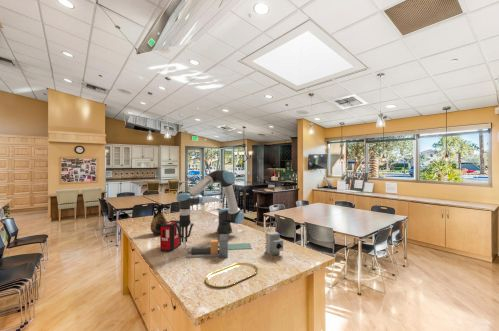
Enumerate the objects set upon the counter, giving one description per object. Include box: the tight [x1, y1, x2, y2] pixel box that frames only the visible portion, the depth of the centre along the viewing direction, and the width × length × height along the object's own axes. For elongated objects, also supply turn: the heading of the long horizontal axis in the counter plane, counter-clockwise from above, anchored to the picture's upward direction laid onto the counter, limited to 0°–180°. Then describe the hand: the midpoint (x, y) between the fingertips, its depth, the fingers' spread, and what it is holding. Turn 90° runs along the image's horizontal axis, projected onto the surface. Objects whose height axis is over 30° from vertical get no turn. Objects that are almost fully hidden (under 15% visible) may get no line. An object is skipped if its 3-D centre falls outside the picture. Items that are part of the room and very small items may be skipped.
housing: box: [185, 234, 229, 259], centre depth 170 cm, size 15×30×12 cm, turn 96°
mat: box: [228, 242, 253, 251], centre depth 186 cm, size 12×20×1 cm, turn 96°
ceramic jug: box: [149, 202, 168, 236], centre depth 219 cm, size 17×15×30 cm
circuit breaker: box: [264, 230, 284, 256], centre depth 171 cm, size 8×14×15 cm, turn 27°
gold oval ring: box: [205, 262, 259, 289], centre depth 138 cm, size 19×35×2 cm, turn 133°
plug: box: [190, 239, 219, 255], centre depth 170 cm, size 5×20×10 cm, turn 96°
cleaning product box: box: [159, 220, 182, 253], centre depth 183 cm, size 16×9×20 cm, turn 170°
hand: (184, 246), depth 168 cm, fingers closed
